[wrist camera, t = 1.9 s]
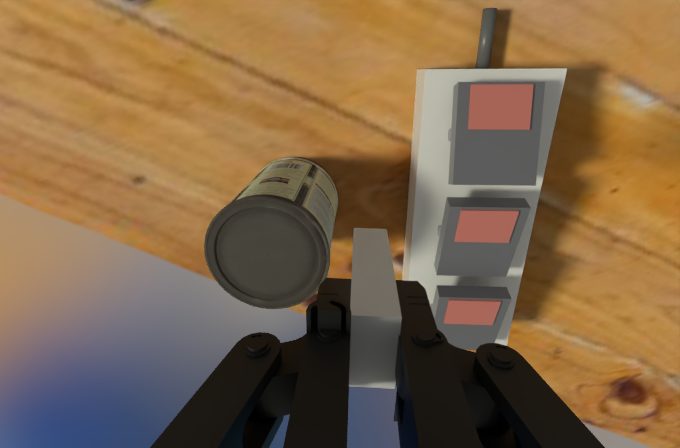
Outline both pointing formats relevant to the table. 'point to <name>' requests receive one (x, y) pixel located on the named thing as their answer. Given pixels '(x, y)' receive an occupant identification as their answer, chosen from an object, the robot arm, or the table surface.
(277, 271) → the coffee can
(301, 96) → the table surface
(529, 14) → the table surface
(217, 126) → the table surface
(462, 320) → the rocker
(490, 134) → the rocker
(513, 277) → the power strip
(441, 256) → the rocker
